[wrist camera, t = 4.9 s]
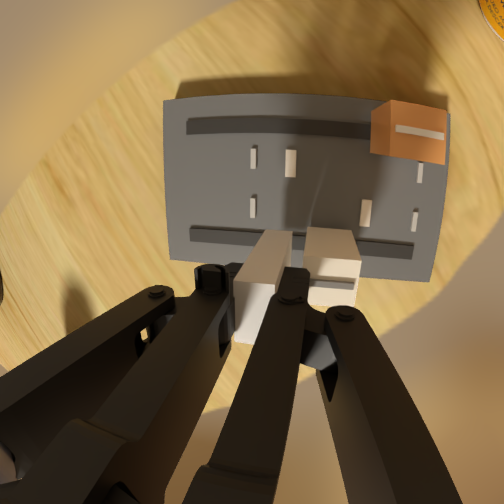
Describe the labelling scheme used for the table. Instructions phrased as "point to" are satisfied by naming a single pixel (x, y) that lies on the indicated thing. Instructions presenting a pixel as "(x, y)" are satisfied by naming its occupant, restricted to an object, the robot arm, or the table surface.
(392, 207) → the console
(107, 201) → the table surface
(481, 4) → the beer can
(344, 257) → the cream fader
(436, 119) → the orange fader
